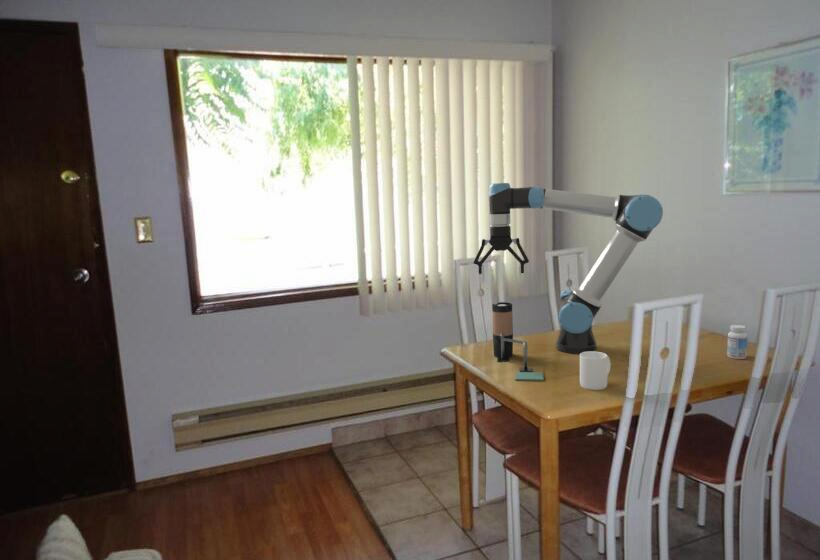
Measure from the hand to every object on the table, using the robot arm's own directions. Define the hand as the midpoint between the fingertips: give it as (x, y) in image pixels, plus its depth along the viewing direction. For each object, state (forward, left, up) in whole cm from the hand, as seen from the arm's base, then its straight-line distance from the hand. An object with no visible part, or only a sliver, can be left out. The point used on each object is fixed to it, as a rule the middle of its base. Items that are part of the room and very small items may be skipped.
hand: (501, 282), depth 208 cm
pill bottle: (-82, 0, -28) cm, 87 cm away
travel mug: (0, 0, -28) cm, 29 cm away
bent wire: (-4, +12, -28) cm, 31 cm away
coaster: (-9, +25, -28) cm, 39 cm away
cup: (-30, +31, -29) cm, 52 cm away
